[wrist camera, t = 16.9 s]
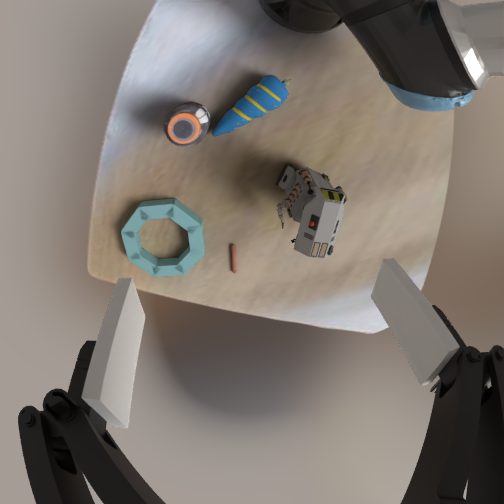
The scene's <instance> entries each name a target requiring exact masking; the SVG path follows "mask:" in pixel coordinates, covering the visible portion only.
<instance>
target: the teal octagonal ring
mask: <svg viewBox="0 0 504 504" xmlns="http://www.w3.org/2000/svg"><path fill="white" fill-rule="evenodd" d="M160 218H170V219H172V220H173V221H174V222H176V223H177V224H179V225H180V226H181V227H183V228H184V229H185V230H187V231H188V236H189V244H190V246H189V247H188V248H187V249H186V250H185V251H184V252H183V253H182V254H181V256H180V257H179V258H165V259H158V258H156V257H155V256H154V255H152V254H151V253H149V252H148V251H146V250H145V249H143V248H142V246H141V242H140V237H139V233H138V230H139V229H140V228H141V226H142V225H143V224H144V222H145V221H146V220H149V219H160ZM121 234H122V238H123V242H124V246H125V249H126V253H127V256H128V260H129V261H131V262H132V263H134V264H135V265H137V266H138V267H140V268H141V269H143V270H144V271H146V272H147V273H149V274H151V275H152V276H155V277H161V276H178V275H185V274H186V273H187V272H188V271H189V270H190V269H191V268H192V267H193V266H194V265H195V264H196V263H197V262H198V261H199V260H200V259H201V258H202V257H203V256H204V254H205V245H204V235H203V225H202V219H201V218H200V217H199V216H198V215H196V214H195V213H194V212H193V211H191V210H190V209H189V208H187V207H186V206H185V205H183V204H182V203H181V202H180V201H178V200H177V199H175V198H172V199H161V200H151V201H142V202H141V203H140V205H139V206H138V207H137V209H136V210H135V211H134V213H133V214H132V215H131V217H130V218H129V220H128V221H127V222H126V224H125V225H124V227H123V229H122V231H121Z"/></svg>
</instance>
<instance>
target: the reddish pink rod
mask: <svg viewBox="0 0 504 504" xmlns="http://www.w3.org/2000/svg"><path fill="white" fill-rule="evenodd" d="M231 250H232V270H233V273H236V246H235V245H234V244H233V245H232V246H231Z"/></svg>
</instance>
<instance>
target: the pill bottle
mask: <svg viewBox="0 0 504 504" xmlns="http://www.w3.org/2000/svg"><path fill="white" fill-rule="evenodd" d="M209 125H210V114H209V112H208V110H207V109H206V108H205V107H204V106H203V105H201V104H199V103H195V102H191V103H186V104H183V105H180V106H178V107H176V108H174V109H173V110H172V111H170V113H169V114H168V115H167V117H166V119H165V123H164V131H165V134H166V136H167V138H168V139H169V140H170V141H171V142H172V143H173V144H175V145H177V146H181V147H190V146H193V145H196V144H197V143H199V142H200V141H202V140H203V138H204V137H205V136H206V134H207V131H208V128H209Z"/></svg>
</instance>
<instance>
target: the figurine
mask: <svg viewBox="0 0 504 504" xmlns="http://www.w3.org/2000/svg"><path fill="white" fill-rule="evenodd" d="M293 168H294V167H293V165H291V164H289V163H286V165H285V167H284V169H283V171H282V173H281V175H280V177H279V179H278V180H277V183H276V185H277V186H279V187H280V188H282V189H284V190H285V193H286V197H287V198H286V199H285V198H284V199H283V200H282V202H281V204H277V207H278V209H277V211H278V214H279V219H281V222H282V229H283V226H284V225H283V224H284V223H283V214H282V207H284V206H285V207H286V208H287V210H288V214H289V217H293V220H294V221H297V222H299V223H300V227H299V231H298V234H297V237H296V239H293V240H291V241H292V243H294V242H295V245H294V249H295V250H297V251H299V252H301V253H303V254H305V255H306V256H308V257H315V258H326V257H327V256H328V255H331V254H332V251H333V247H334V244H335V241H336V237H337V234H338V231H339V228H340V224H341V221H342V218H343V214H344V211H343V204H344V203H345V202H346V201H347V197H346V195H345V193H344V192H343V190H342V188H341V187H340V186H338V187H336V188H334V189H333V187H332V186H331V184H330V182H329V180H330V179H329V178H328V176H327V175H325V174H320V173H318V172H316V171H314V170H312V169H310V168H308V167H307V168H304V169H300V170H297V171H294V169H293ZM343 202H344V203H343ZM294 240H296V241H294Z"/></svg>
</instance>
